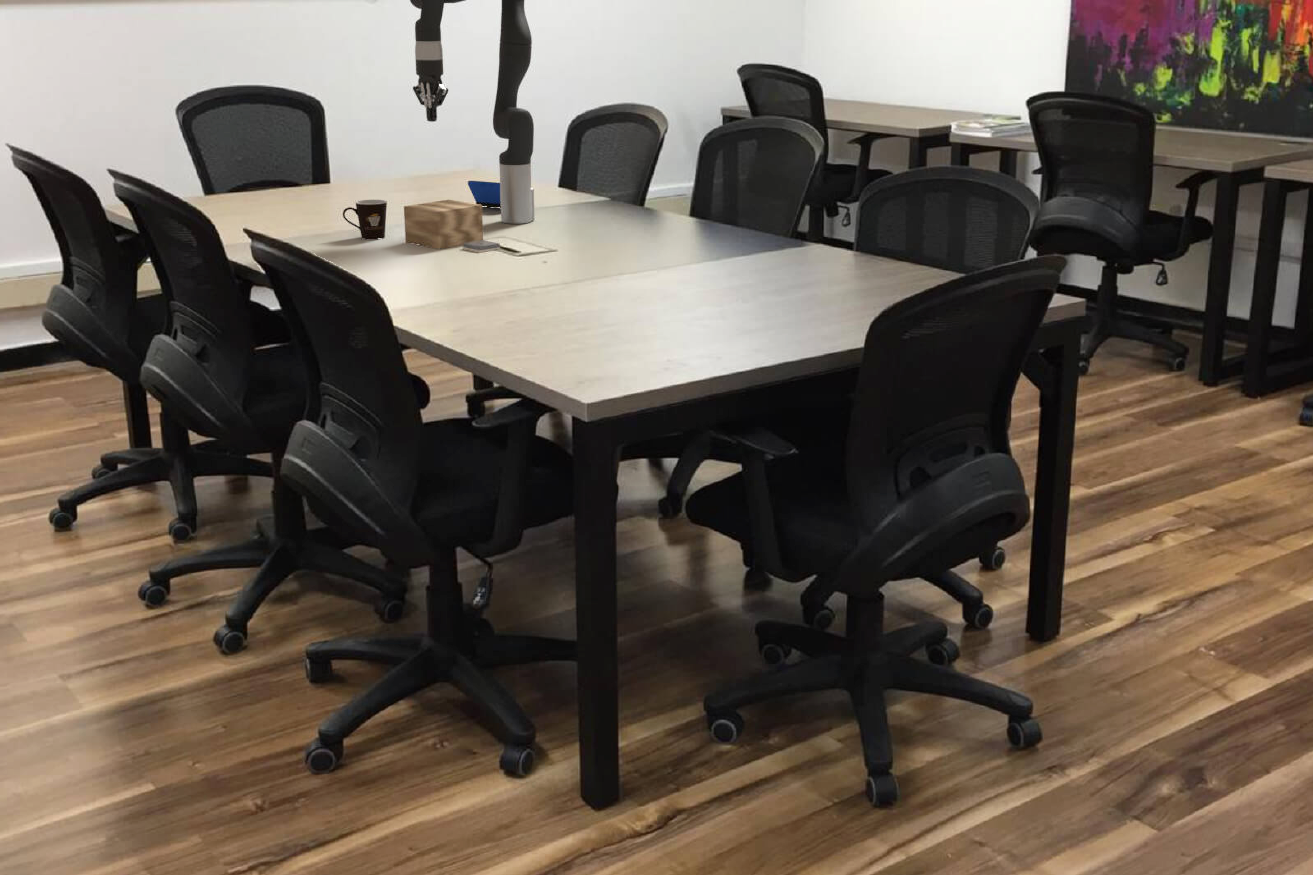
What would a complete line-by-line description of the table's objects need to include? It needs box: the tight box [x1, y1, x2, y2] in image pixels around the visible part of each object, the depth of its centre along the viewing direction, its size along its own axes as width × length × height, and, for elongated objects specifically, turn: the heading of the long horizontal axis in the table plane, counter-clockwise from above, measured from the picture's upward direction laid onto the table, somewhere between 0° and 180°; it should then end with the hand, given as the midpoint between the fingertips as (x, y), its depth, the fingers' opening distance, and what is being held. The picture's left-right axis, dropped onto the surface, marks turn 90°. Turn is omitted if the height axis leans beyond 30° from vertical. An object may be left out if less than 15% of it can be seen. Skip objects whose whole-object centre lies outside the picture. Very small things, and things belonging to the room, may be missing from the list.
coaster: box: [462, 239, 501, 253], centre depth 401 cm, size 7×7×2 cm
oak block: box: [403, 199, 484, 250], centre depth 410 cm, size 16×14×10 cm
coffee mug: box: [342, 199, 388, 240], centre depth 416 cm, size 12×9×10 cm
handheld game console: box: [467, 180, 501, 208], centre depth 466 cm, size 16×13×9 cm
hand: (431, 121), depth 418 cm, fingers closed
